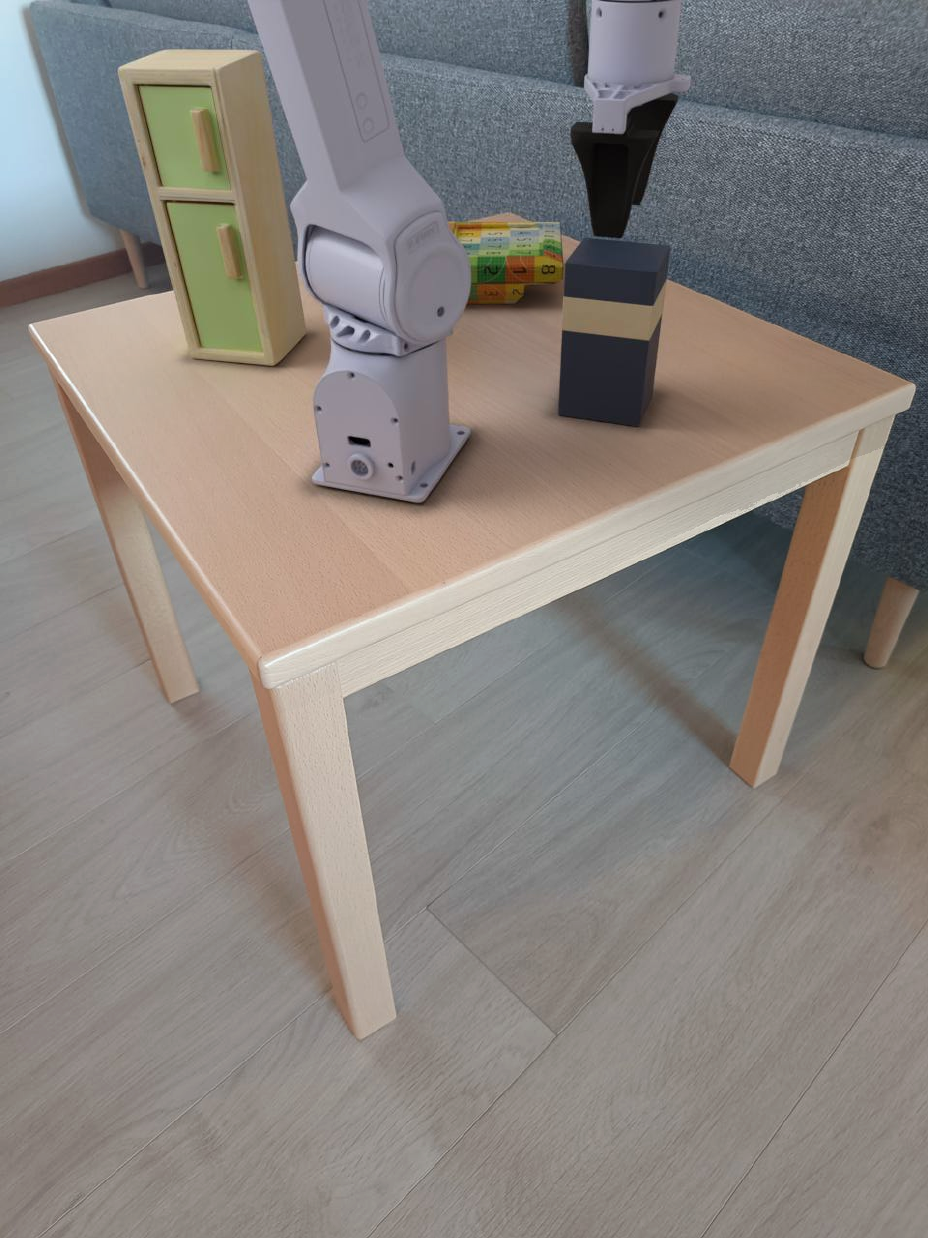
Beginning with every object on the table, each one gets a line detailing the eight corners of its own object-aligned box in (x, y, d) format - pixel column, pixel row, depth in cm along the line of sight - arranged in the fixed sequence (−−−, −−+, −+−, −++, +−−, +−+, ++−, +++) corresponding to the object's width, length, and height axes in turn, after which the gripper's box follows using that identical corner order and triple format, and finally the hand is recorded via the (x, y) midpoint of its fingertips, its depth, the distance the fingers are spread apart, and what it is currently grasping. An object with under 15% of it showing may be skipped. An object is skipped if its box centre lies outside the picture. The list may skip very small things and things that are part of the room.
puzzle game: (353, 214, 86) (561, 212, 85) (358, 263, 89) (558, 262, 88) (333, 257, 78) (564, 255, 76) (339, 310, 81) (561, 309, 79)
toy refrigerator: (182, 362, 73) (109, 66, 59) (224, 326, 79) (165, 47, 65) (271, 372, 72) (216, 69, 58) (307, 334, 77) (265, 49, 63)
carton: (639, 427, 63) (657, 271, 56) (557, 415, 65) (564, 262, 58) (652, 395, 67) (671, 244, 60) (574, 384, 69) (583, 236, 61)
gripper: (685, 14, 51) (657, 256, 60) (712, -18, 61) (685, 193, 70) (564, 12, 53) (555, 248, 62) (610, -19, 63) (596, 187, 72)
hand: (618, 218), depth 66 cm, fingers open, 7 cm apart
